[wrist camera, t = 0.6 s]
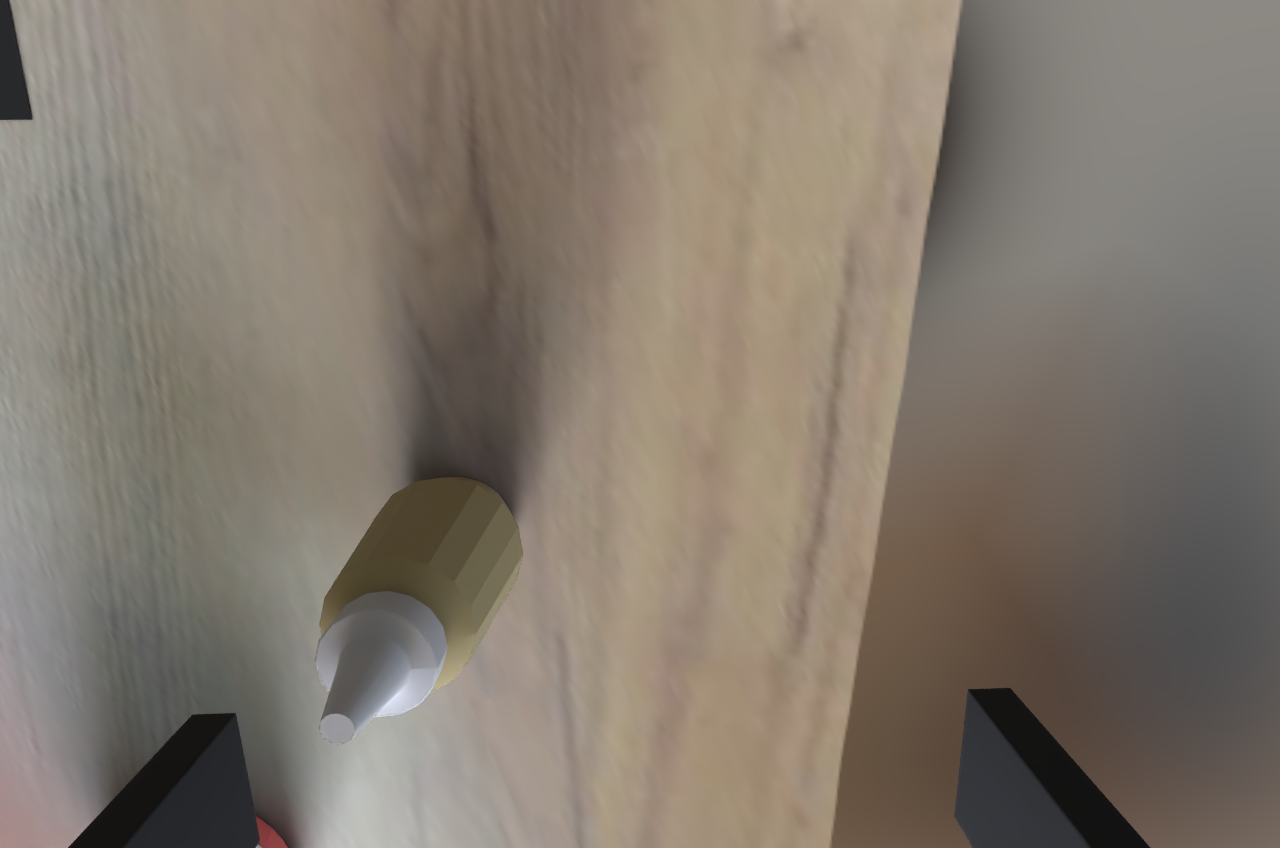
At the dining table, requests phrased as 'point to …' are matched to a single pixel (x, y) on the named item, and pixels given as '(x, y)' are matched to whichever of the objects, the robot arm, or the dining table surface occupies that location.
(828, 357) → the dining table surface
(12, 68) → the mat
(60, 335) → the dining table surface
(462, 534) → the squeeze bottle
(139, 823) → the robot arm
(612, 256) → the dining table surface
